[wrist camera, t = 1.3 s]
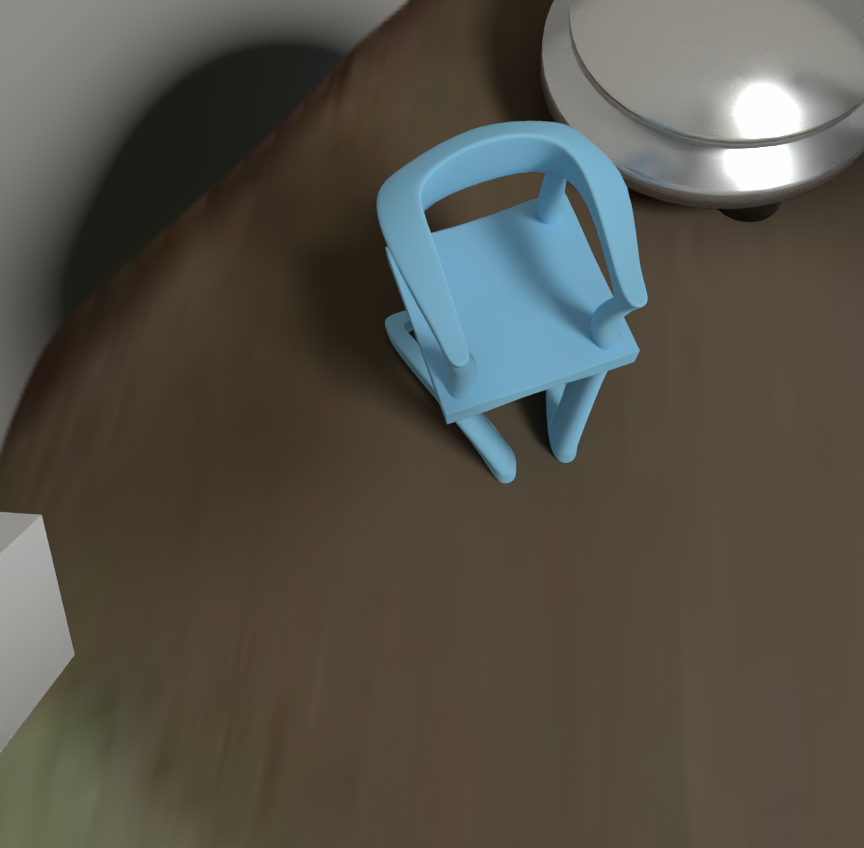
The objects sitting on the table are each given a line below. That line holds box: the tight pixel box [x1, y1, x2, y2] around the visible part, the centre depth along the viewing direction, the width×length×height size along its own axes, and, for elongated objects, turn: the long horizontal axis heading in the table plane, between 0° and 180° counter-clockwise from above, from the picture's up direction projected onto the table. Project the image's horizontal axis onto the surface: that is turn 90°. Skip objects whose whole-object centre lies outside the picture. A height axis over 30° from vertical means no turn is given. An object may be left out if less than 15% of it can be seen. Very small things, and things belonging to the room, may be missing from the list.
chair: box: [377, 121, 647, 483], centre depth 25 cm, size 8×8×12 cm
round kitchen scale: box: [541, 0, 864, 222], centre depth 33 cm, size 15×15×5 cm
